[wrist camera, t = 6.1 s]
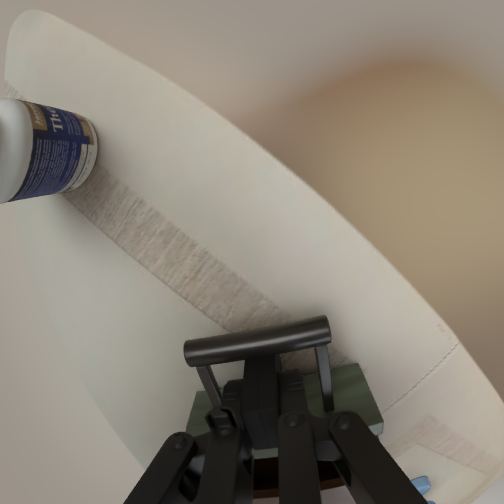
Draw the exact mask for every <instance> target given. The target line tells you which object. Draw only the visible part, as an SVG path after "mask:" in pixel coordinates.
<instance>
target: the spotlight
mask: <svg viewBox="0 0 504 504" xmlns="http://www.w3.org/2000/svg"><path fill="white" fill-rule="evenodd" d="M411 482H412V483H413V485H414V486H415V487H416V489H417V490H418V491H419V492H420V494H421V495H423V494H425V493H426V492H427V491H428V490H429V489H430V488H431V485H430V483H429V481H428V478H427V477H420V478H417V479H414V480H412V481H411ZM427 502H428V504H436V503H435V502H433V501H427Z"/></svg>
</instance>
